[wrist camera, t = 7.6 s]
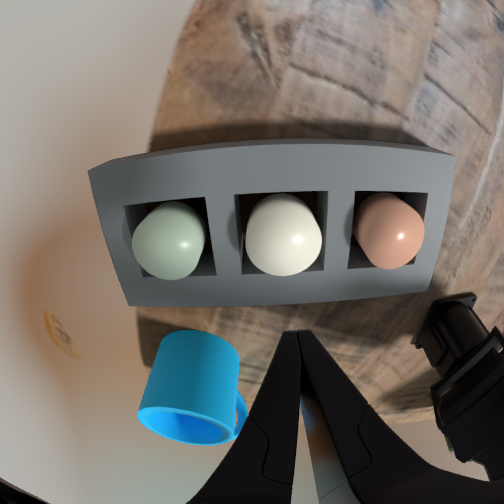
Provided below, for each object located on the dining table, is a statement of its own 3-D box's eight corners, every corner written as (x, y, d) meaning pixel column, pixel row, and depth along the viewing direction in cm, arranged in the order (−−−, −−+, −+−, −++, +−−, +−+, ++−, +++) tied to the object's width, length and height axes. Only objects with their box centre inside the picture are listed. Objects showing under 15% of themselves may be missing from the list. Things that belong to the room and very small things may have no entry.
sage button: (202, 198, 15) (192, 213, 13) (211, 257, 17) (204, 279, 15) (140, 204, 16) (124, 220, 14) (154, 260, 18) (142, 280, 16)
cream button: (314, 192, 15) (323, 206, 13) (312, 252, 17) (319, 274, 15) (244, 195, 15) (242, 209, 13) (249, 255, 17) (248, 277, 15)
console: (430, 147, 15) (455, 156, 12) (411, 269, 19) (427, 291, 17) (111, 160, 16) (87, 170, 13) (142, 282, 21) (129, 306, 18)
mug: (144, 346, 25) (119, 413, 18) (199, 316, 22) (179, 398, 15) (220, 400, 29) (214, 458, 22) (277, 381, 27) (279, 448, 20)
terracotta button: (410, 193, 15) (429, 206, 13) (401, 248, 17) (416, 266, 15) (354, 192, 15) (369, 205, 13) (349, 251, 17) (360, 271, 15)
